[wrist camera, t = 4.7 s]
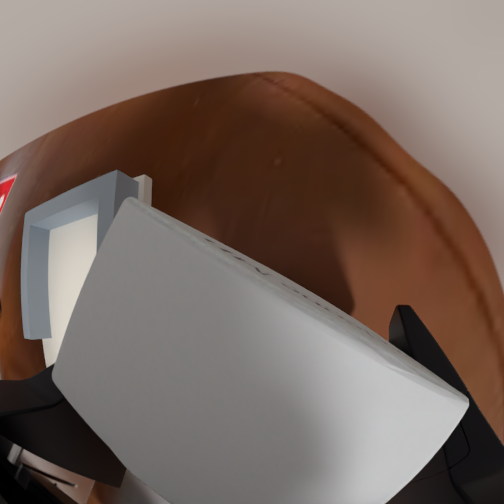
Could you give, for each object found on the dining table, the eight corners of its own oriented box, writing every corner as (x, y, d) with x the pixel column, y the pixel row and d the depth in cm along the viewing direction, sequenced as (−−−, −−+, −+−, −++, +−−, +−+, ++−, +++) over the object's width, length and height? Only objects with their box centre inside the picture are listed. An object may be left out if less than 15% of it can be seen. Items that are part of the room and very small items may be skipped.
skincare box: (363, 321, 13) (487, 404, 2) (320, 386, 13) (298, 568, 2) (269, 265, 15) (121, 183, 4) (230, 329, 15) (43, 382, 4)
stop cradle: (166, 400, 16) (137, 417, 13) (55, 374, 20) (29, 379, 16) (152, 179, 19) (123, 160, 16) (49, 217, 22) (23, 209, 19)
